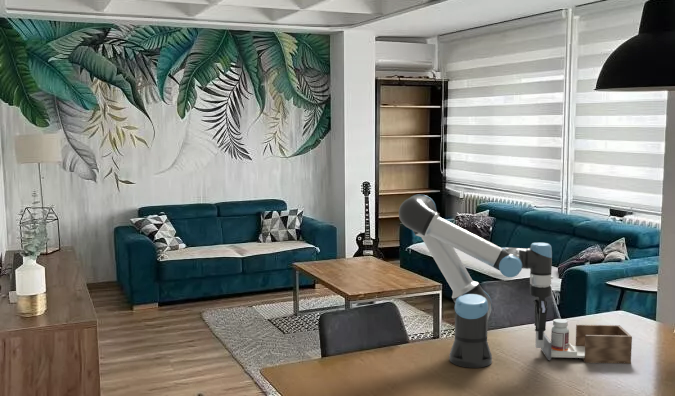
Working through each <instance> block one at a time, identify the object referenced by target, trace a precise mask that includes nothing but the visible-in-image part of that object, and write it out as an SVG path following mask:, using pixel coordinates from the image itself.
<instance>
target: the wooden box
mask: <svg viewBox="0 0 675 396" xmlns="http://www.w3.org/2000/svg"><path fill="white" fill-rule="evenodd" d="M632 345H633V335H631V334H630V333H629V332H628V331H626V329H624V327H622V326H621V325H617V324H576V327H575V346H584V347H585V358H581V359H582V360H583V361H584V363H585V364H588V363H589V364H621V365H622V364H623V365H624V364H626V365H629V364H632V349H633V348H632Z"/></svg>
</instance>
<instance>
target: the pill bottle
mask: <svg viewBox="0 0 675 396" xmlns="http://www.w3.org/2000/svg"><path fill="white" fill-rule="evenodd" d="M552 322H553V323H552V327H551V334H550V337H551V338H550V339H551V340H550V341H551V343H552V346H551V350H552V351H568V346H569V343H570V342H569V341H570V329H569V328H568V325H569V324H568V323H569V322H568V319H564V318H555V319H553V321H552Z"/></svg>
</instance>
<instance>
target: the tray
mask: <svg viewBox="0 0 675 396" xmlns="http://www.w3.org/2000/svg"><path fill="white" fill-rule="evenodd" d="M551 346H552V343H551V340H550V339H549V337H548V336H547V334H546V332H544V348H540V350H541V351H542V353H543V354H544V355H545V358H546V359H547V360H548V361H552V358H569V359H570V358H571V359H572V358H575V359H578V358H579V359H582V358H585V347H584V346H576V345H572V343H571V342H569V346H568V351H552V350H551Z"/></svg>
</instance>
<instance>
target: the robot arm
mask: <svg viewBox="0 0 675 396" xmlns="http://www.w3.org/2000/svg"><path fill="white" fill-rule="evenodd" d="M398 218H399V220H400V222H401V223H402V225H403V226H404V227H406V228H408V229H409V230H412V232H413V234H414V235H415V236H417V237H420V238H421V239H422V241H423V242H424V244H425V247H426V248H427V250H428V251H429V253H430V254H431V256H432V258H433V260H434V261H435V263H436V265H437V267H438V269H439V270H440V272H441V273H442V275H443V277H444V278H445V280H446V282H447V283H448V285H449V287H450V288H451V290H452V295H451V298H452V300H453V302H454V339H453V340H454V341H453V343H452V346H451V349H450V351H449V362H450V363H452V364H453V365H455V366H458V367H463V368H470V369H473V368H474V369H477V368H478V369H479V368H485V367H488V366H490V365H492V363H493V356H492V353H491V350H490V346H489V342H488V323H489V322H488V321H489V318H490V315H491V313H492V310H493V303H492V298H491V297H490V295H489V294H488V293H487V292H486V291H485V290H484V289H483V288H482V285H480V282H478V281H475V280H473V279H472V277H471V276H470V273H469V272H468V270H467V268H466V266H465V265H464V263H463V261H462V260H461V258H460V256H459V254H458V253H457V251H456V250H458V251H460V252H462V253H463V254H466V255H468V256H469V257H472V258H474V259H476V260H477V261H480V262H481V263H484V264H486V265H488V266H490V267H492V268H493V269H495V270H497V271H499V272H500V274H502V276H504V277H506V278H514V277H517V276H518V275H519V274H520V272H521V271H522V269H525V270H529V269H530V272H529V284H530V285H529V294H530V296H531V297H534V299H533V310H534V313H533V314H534V332H535V348H536V349H541V348H544V333H545V332H546V328H547V327H546V326H547V316H548V315H547V313H548V309H549V308H548V307H547V306H548V304H547V303H548V302H547V301H546V298H550V297H551V296H552V286H551V285H552V280H553V279H554V276H552V266H553V263H552V262H553V260H552V259H553V251H552V250H553V249H552V245H551V244H550V243H548V242H532V243H531V244H530V246H529V247H528V248H524V247H523V248H522V247H521V248H520V247H508V246H507V247H506V246H505V247H500V246H498V245H497V244H494V243H493V242H491V241H489V240H486V239H484V238H483V237H480V236H478V235H477V234H475V233H472V232H470V231H468V230H467V229H464V228H462V227H460V226H458V225H456V224H454V223H453V222H452V221H451V222H450V221H449V220H446V219H445V218H442V217H441V215H440V214H439V212H438V211H437V205H436V203H435V201H434V200H433V198H431V197H429V196H428V195H425V194H420V193H419V194H414V195H412V196H410V197H409V198H407V199H405V200H404V201H403V202H401V204H400V206H399V208H398Z"/></svg>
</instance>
